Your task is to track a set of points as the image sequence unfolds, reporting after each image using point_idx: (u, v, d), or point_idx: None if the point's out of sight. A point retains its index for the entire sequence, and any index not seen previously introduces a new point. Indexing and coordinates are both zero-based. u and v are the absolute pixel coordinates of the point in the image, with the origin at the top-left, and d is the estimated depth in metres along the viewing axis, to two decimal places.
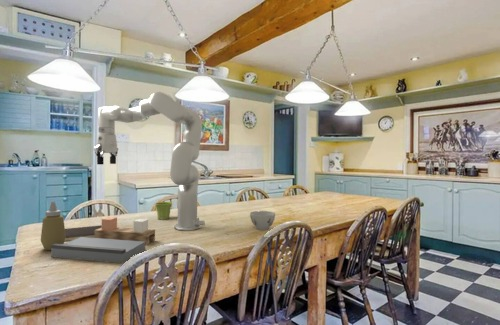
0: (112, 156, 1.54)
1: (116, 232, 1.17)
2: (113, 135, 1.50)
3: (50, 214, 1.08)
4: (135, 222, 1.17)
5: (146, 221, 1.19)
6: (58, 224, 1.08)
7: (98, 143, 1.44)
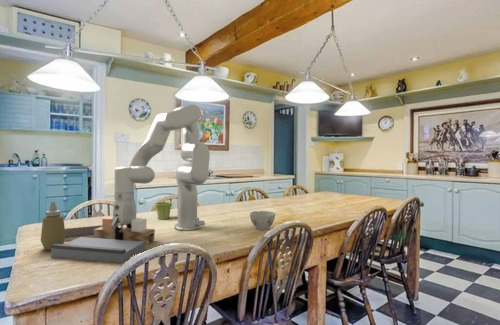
0: (128, 227, 1.23)
1: None
2: (132, 200, 1.21)
3: (50, 214, 1.08)
4: (133, 221, 1.17)
5: (144, 220, 1.19)
6: (58, 223, 1.08)
7: (114, 214, 1.15)
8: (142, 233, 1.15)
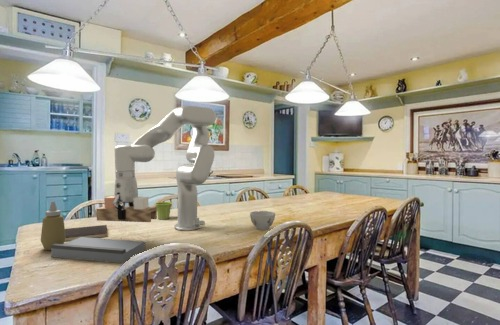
0: None
1: None
2: (133, 179, 1.21)
3: (50, 214, 1.08)
4: (135, 199, 1.17)
5: (146, 198, 1.19)
6: (58, 224, 1.08)
7: (116, 192, 1.15)
8: (144, 210, 1.16)
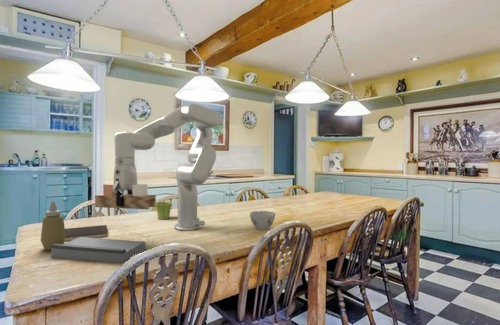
0: None
1: None
2: (133, 166, 1.21)
3: (50, 214, 1.08)
4: (134, 186, 1.16)
5: (145, 186, 1.19)
6: (58, 224, 1.08)
7: (115, 178, 1.15)
8: (143, 197, 1.15)
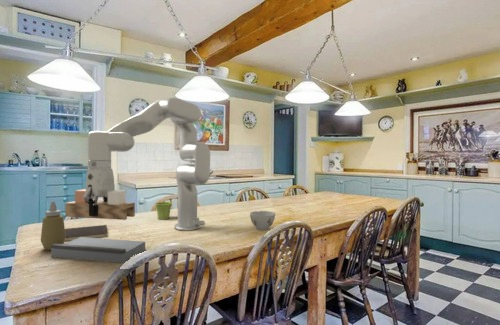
0: None
1: None
2: (109, 170, 1.06)
3: (50, 214, 1.08)
4: (109, 193, 1.02)
5: (123, 192, 1.04)
6: (58, 224, 1.08)
7: (87, 184, 1.00)
8: (119, 206, 1.00)
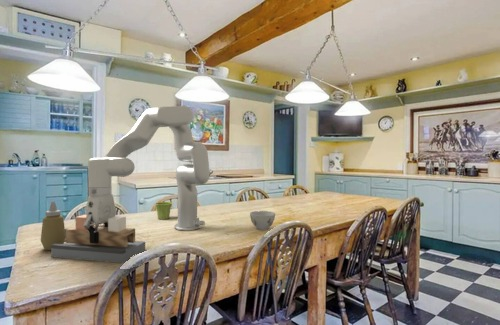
0: None
1: None
2: (109, 196, 1.06)
3: (50, 214, 1.08)
4: (110, 220, 1.02)
5: (123, 219, 1.05)
6: (58, 224, 1.08)
7: (88, 211, 1.00)
8: (120, 233, 1.01)
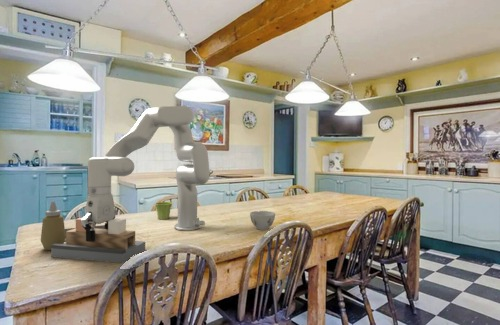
0: None
1: None
2: (109, 196, 1.06)
3: (50, 214, 1.08)
4: (110, 222, 1.02)
5: (123, 221, 1.05)
6: (58, 224, 1.08)
7: (87, 211, 1.00)
8: (120, 236, 1.01)
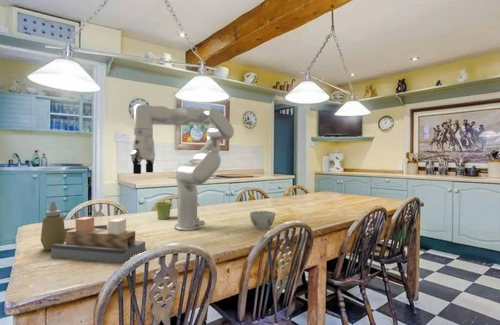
0: (149, 163, 1.29)
1: (90, 234, 1.03)
2: (151, 138, 1.25)
3: (50, 214, 1.08)
4: (110, 222, 1.02)
5: (123, 221, 1.05)
6: (58, 223, 1.08)
7: (135, 148, 1.19)
8: (120, 236, 1.01)
